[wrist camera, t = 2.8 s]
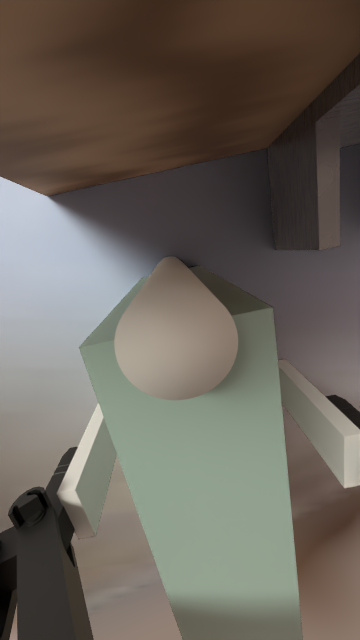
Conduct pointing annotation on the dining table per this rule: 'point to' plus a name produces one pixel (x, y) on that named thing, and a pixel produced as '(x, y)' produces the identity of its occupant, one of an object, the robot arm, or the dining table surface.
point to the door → (203, 448)
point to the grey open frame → (314, 166)
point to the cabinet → (157, 82)
